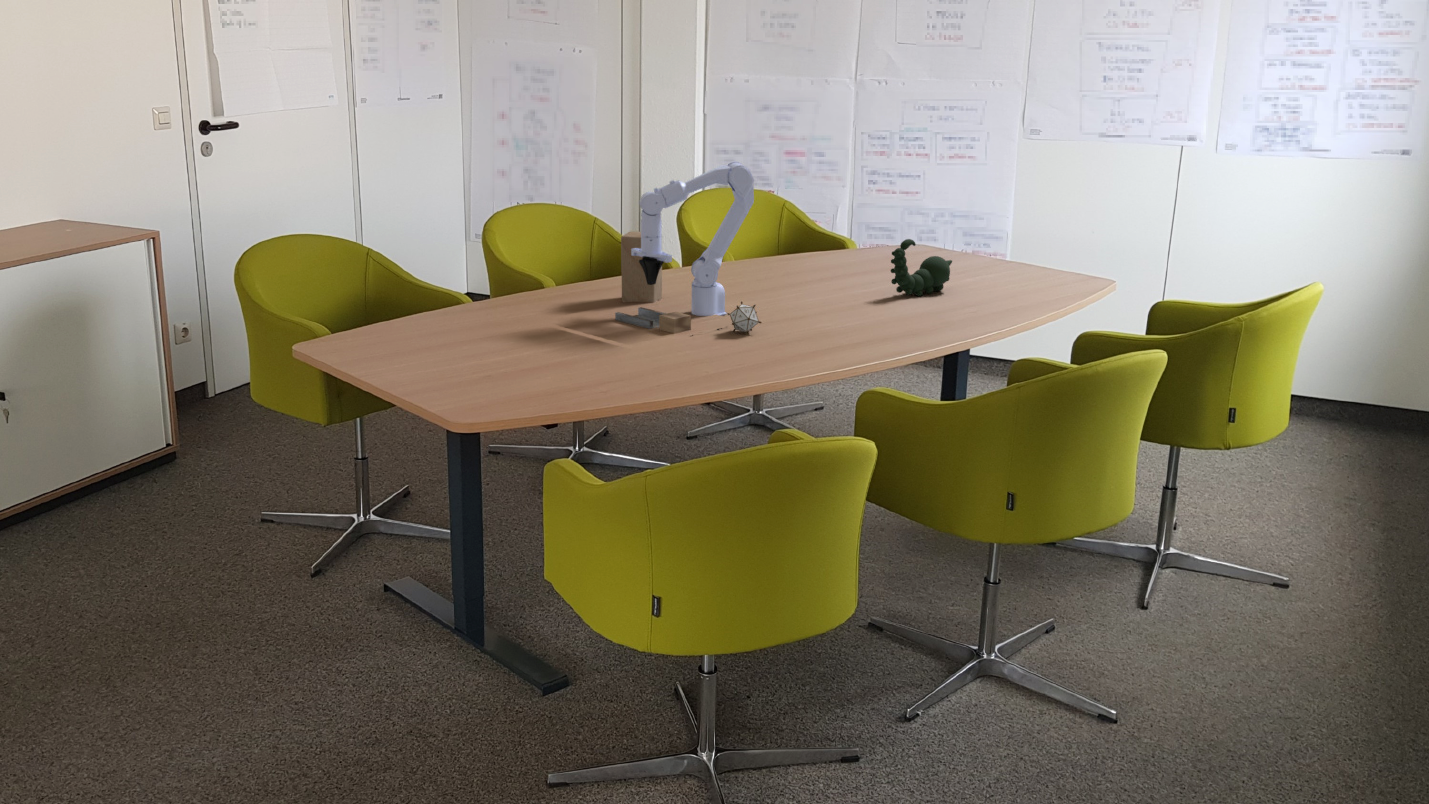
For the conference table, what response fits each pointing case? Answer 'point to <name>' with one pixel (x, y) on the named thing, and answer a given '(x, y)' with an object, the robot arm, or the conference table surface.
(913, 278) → the toy figurine
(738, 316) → the game die
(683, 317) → the walnut block
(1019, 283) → the conference table surface
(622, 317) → the chute
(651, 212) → the robot arm
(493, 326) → the conference table surface
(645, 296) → the wooden block
